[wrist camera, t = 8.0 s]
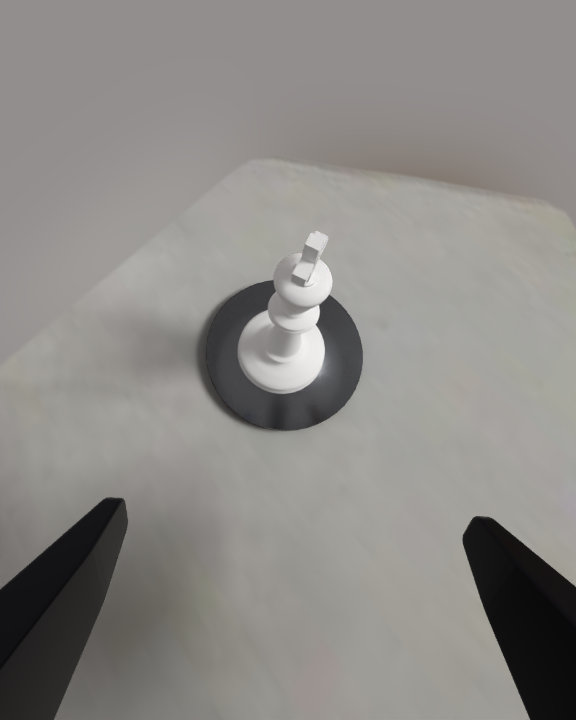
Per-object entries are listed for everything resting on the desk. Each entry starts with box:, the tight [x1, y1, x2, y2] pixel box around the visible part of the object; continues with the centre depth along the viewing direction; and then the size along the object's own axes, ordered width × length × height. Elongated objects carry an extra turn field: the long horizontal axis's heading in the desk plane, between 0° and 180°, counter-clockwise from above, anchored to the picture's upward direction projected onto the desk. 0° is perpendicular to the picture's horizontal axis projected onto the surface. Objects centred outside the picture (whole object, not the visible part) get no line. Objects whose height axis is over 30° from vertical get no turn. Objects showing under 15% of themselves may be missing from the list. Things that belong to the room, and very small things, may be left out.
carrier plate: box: [206, 280, 363, 431], centre depth 19 cm, size 9×9×1 cm
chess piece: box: [238, 231, 332, 394], centre depth 14 cm, size 5×5×10 cm
